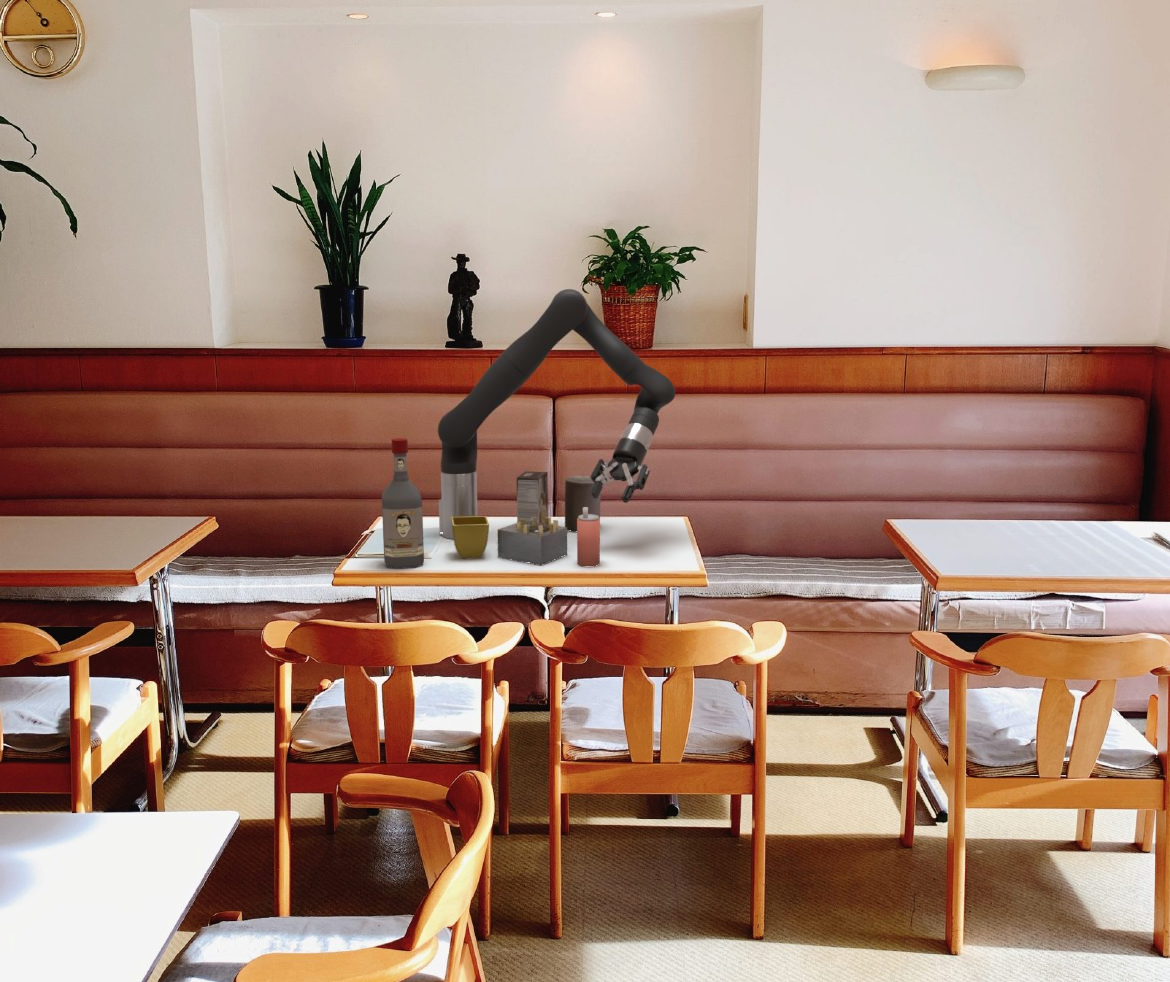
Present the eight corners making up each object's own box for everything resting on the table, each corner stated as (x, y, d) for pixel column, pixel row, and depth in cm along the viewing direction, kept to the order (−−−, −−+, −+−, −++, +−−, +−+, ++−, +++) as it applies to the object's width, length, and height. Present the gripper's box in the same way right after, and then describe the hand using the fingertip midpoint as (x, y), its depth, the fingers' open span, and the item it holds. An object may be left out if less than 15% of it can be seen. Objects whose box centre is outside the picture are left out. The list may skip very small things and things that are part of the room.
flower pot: (487, 550, 261) (486, 515, 259) (490, 559, 253) (489, 523, 251) (451, 551, 260) (450, 516, 258) (453, 561, 251) (452, 525, 249)
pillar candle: (562, 532, 279) (562, 477, 275) (567, 523, 288) (567, 470, 285) (598, 533, 278) (599, 478, 274) (602, 524, 287) (603, 471, 284)
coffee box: (525, 528, 282) (525, 470, 279) (548, 530, 281) (548, 471, 278) (516, 537, 274) (516, 477, 270) (540, 538, 272) (540, 478, 269)
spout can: (572, 564, 248) (572, 507, 246) (585, 559, 253) (585, 503, 250) (591, 568, 246) (592, 510, 243) (604, 562, 250) (604, 505, 247)
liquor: (383, 559, 253) (378, 437, 246) (421, 557, 255) (417, 435, 248) (385, 569, 244) (380, 443, 238) (424, 567, 246) (420, 441, 240)
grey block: (488, 555, 256) (487, 519, 254) (515, 545, 265) (514, 511, 263) (541, 565, 248) (541, 528, 246) (567, 555, 257) (567, 519, 255)
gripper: (603, 434, 262) (578, 486, 255) (653, 439, 254) (628, 493, 247) (614, 451, 267) (590, 503, 260) (663, 457, 260) (639, 511, 253)
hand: (609, 498), depth 254 cm, fingers open, 8 cm apart
